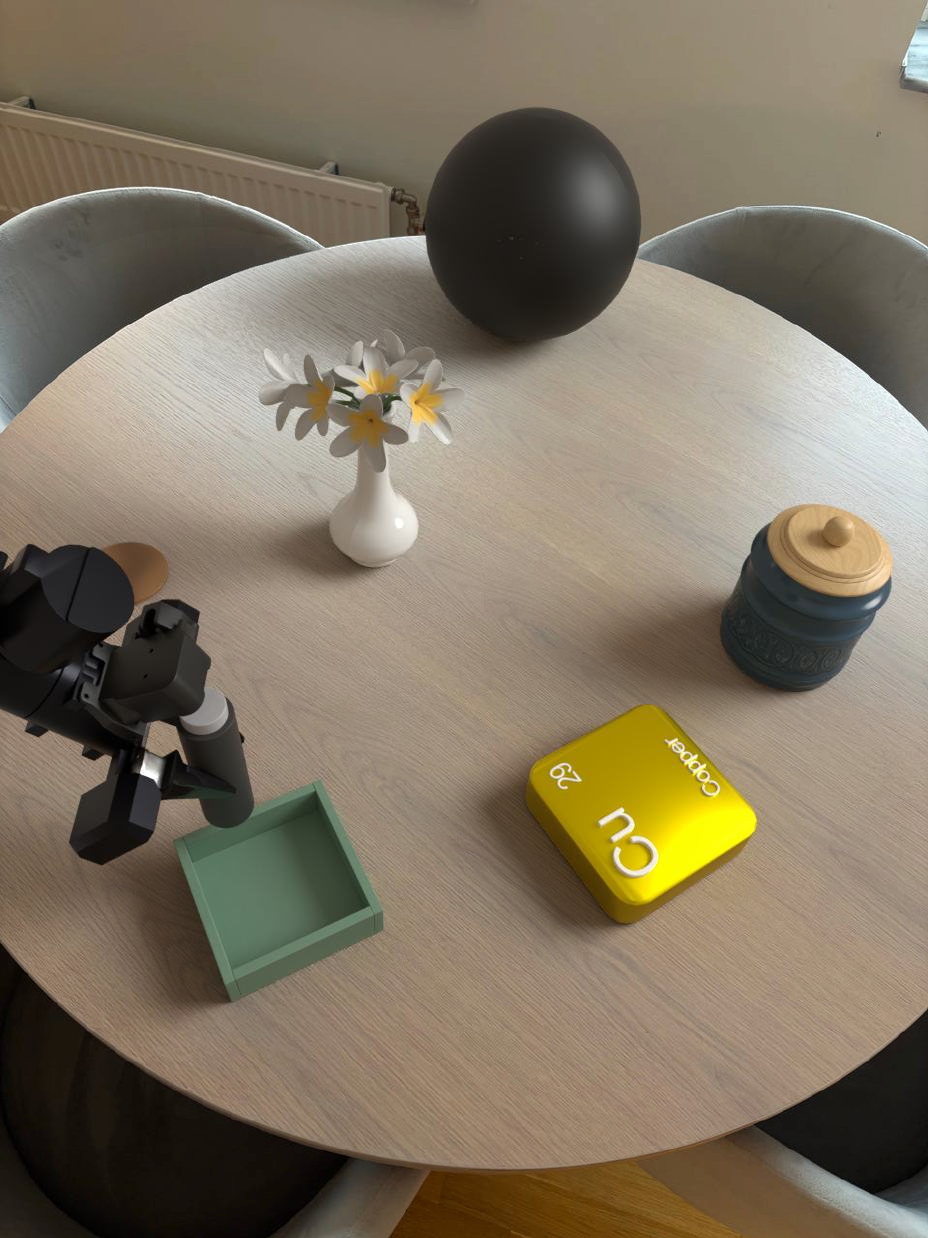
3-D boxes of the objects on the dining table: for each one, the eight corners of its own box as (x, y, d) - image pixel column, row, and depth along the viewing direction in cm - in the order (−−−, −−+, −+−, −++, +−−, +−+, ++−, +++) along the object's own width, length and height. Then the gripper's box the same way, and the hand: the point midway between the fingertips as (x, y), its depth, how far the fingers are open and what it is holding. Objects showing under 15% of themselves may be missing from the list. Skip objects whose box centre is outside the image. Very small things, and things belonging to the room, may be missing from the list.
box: (231, 1002, 72) (224, 985, 68) (181, 861, 78) (172, 839, 75) (383, 930, 76) (383, 910, 73) (323, 802, 83) (320, 779, 79)
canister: (836, 712, 92) (915, 595, 78) (705, 669, 94) (759, 548, 80) (849, 616, 100) (923, 494, 86) (728, 579, 102) (782, 454, 88)
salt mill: (215, 837, 73) (185, 740, 62) (194, 797, 75) (162, 696, 64) (262, 813, 75) (242, 714, 64) (241, 774, 77) (217, 672, 65)
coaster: (93, 617, 94) (92, 615, 93) (72, 559, 98) (71, 556, 98) (178, 590, 96) (178, 587, 96) (154, 535, 101) (153, 532, 101)
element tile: (753, 846, 83) (770, 821, 79) (619, 935, 77) (631, 912, 73) (643, 720, 90) (655, 691, 86) (514, 793, 84) (520, 765, 81)
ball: (414, 268, 136) (419, 65, 115) (597, 267, 139) (634, 70, 118) (430, 386, 120) (439, 174, 99) (637, 382, 123) (689, 177, 102)
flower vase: (289, 502, 105) (266, 303, 86) (455, 511, 106) (470, 315, 86) (273, 591, 97) (243, 394, 78) (452, 600, 98) (468, 407, 78)
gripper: (76, 761, 51) (297, 854, 60) (144, 514, 63) (321, 623, 72) (-26, 825, 57) (190, 900, 66) (55, 588, 68) (229, 680, 78)
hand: (237, 767), depth 70 cm, fingers closed on salt mill, 4 cm apart
